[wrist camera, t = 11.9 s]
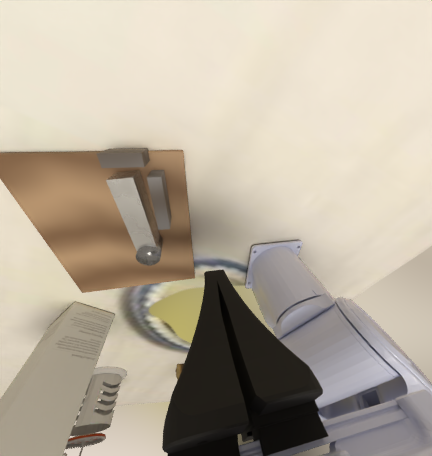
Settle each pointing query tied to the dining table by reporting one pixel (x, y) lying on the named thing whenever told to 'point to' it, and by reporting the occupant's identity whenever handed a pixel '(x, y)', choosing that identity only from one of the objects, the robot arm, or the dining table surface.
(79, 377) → the skincare box
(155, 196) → the lock board
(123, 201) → the swing bar
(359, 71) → the dining table surface
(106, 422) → the french press
